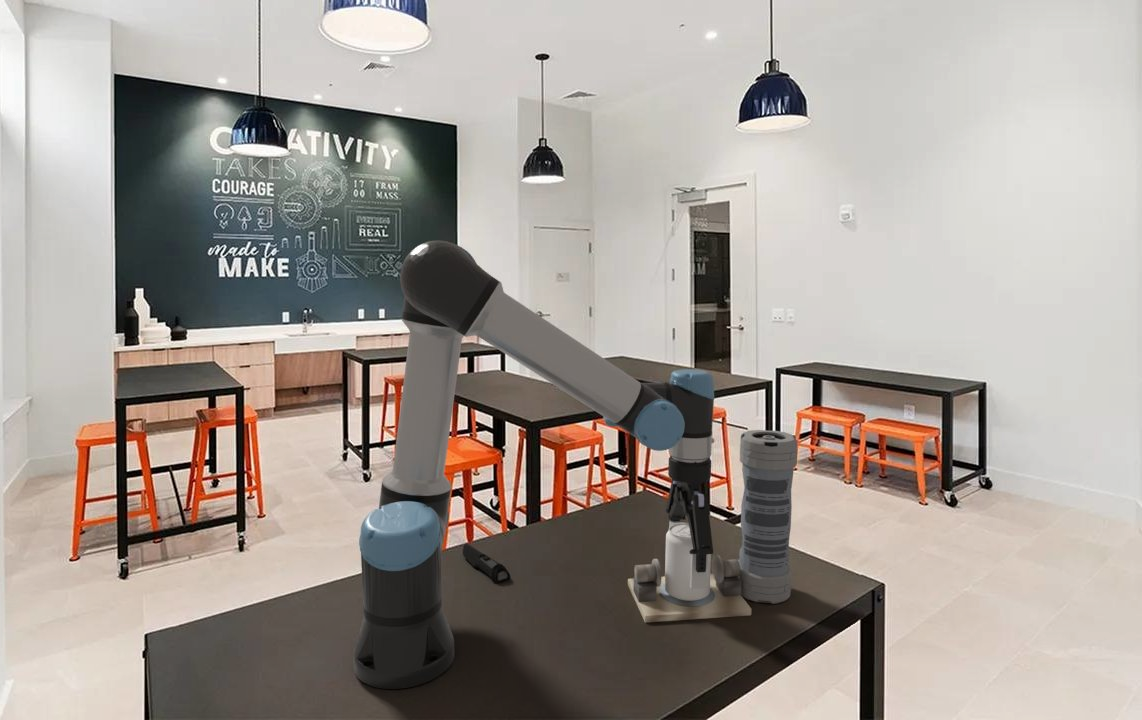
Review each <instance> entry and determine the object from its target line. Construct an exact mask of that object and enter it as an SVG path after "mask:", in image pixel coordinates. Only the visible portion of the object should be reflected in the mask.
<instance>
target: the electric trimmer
mask: <svg viewBox="0 0 1142 720" xmlns="http://www.w3.org/2000/svg"><path fill="white" fill-rule="evenodd" d="M462 556H463V557H464V558H465V559H466V560H467V561H468V562H469V564H470V565H471V566H472V567H473V568H476V569H480V570H482V571H483V572H484V573H485V574H487V575H488V576H489V577H490V578H491V580H492V583H494V584H497V585H500V584H503V583H506V582H509V581H510V580H511V575H510V572H509V571H508V570H507V568H506V567H505V566H504V565H503V564H501V563H499V562H498V561H497V560H494V559H493V558H491V557H490V556H488V555H487V554H484V553H483V552H482V551H481V550H478V549H477V548H476V547H474V546H472V545H470V544H469V543H465V544H464V545H463V547H462Z"/></svg>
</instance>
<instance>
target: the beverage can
mask: <svg viewBox="0 0 1142 720" xmlns="http://www.w3.org/2000/svg"><path fill="white" fill-rule="evenodd" d="M691 549H693V545H692V539H691V534H690V528H689V522H684V523H676V524H673V525H671V526H670V527H668V531H667V532H666V533H665V557H664V558H665V559H664V560H665V561H664V563H665V564H664V565H665V567H664V577H665V590H666V592H667V593H668V594H669V595H671V596H673V597H675V598H677V599H680V600H685V601H695V600H700V599H703V598H705V597H707V596H708V595H709V593H710V574H711V569H712V554H708V561H707V588H698V589H691V588H690V571H691V554H690V552H689V551H690V550H691Z"/></svg>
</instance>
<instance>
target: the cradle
mask: <svg viewBox="0 0 1142 720" xmlns="http://www.w3.org/2000/svg"><path fill="white" fill-rule="evenodd" d="M738 560H739V559H736V558H734V559H722V558H721V556H720V555H719V554H717V555H713V557H712V558H711V571H712V573H710V593H709V595H708V596H707V597H705V598H703V599H700V600H695V601H685V600H680V599H677V598H675V597H673V596H671V595H669V594H668V593H667V592H666V590H665V576H662V567H661V564H660V560H659V559H658V558H652V560H651V564H650V563H649V564H635V565H634V576H633V578H628V579H627V586H628V588H629V591H630V593H631V595H632V598H633V599H634V601H635V604H636V606H637V608H638V610H639V612H640V614H641V616H642V619H643V621H644V623H645V624H646V623H657V622H672V621H687V620H700V619H701V620H703V619H716V618H718V619H719V618H729V617H733V618H734V617H745V616H751V615H752V608H751V607H750V605H749V603H747V601H746V599H745V598H744V597H743V596H741V584H742V581H741V580H740V578H739V577H738V576H740V564H739V561H738Z"/></svg>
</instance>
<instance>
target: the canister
mask: <svg viewBox="0 0 1142 720" xmlns="http://www.w3.org/2000/svg"><path fill="white" fill-rule="evenodd" d="M798 445H799V444H798V440H797V439H796V436H795V435H794V434H792V433H788V432H785V431H779V430H762V429H761V430H760V429H752V430H747V431H745V432H743V433H742V434H741V435H740V444H739V462H740V463H741V464H742V468H741V470H742V479H743V486H744V489H743V495H742V500H741V510H740V529H741V535H742V540H741V542H742V543H741V544H742V545H741V547H740V549H739V554H738V555H739V558H738V559H737V560H738V561H739V564H740V576H738V577H739V578H740V580H741V581H742V584H741V596H742V597H743V599H745V600H748V601H752V602H754V603H766V604H771V605H772V604H773V605H774V604H780V603H783V602H785V601H787V600H788V599H789V598H790V597H791V592H792V576H793V575H792V574H793V573H792V571H793V570H792V569H791V565H790V564H789V563H790V551H789V549H790V534H791V528H792V527H791V526H792V512H793V511H792V510H793V509H792V507H793V505H792V486H793V478H794V468H795V467H796V466H797V464H798V450H799V449H798Z"/></svg>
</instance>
